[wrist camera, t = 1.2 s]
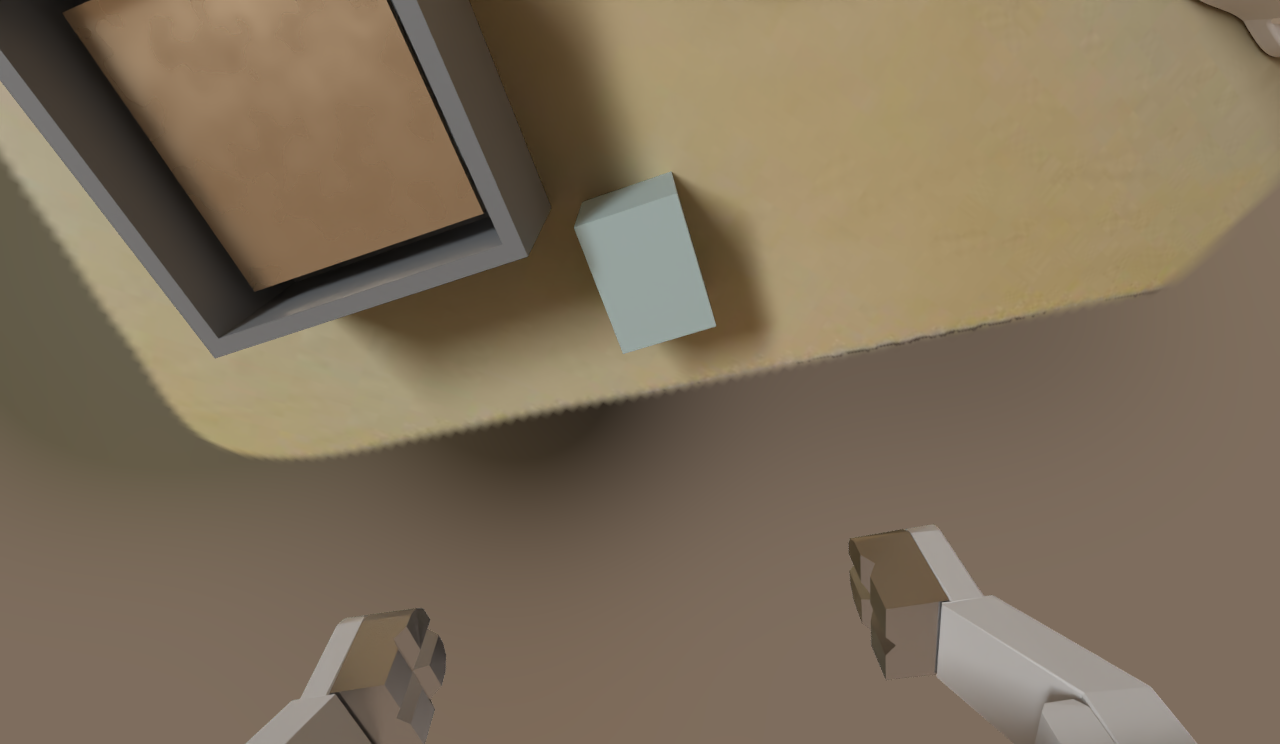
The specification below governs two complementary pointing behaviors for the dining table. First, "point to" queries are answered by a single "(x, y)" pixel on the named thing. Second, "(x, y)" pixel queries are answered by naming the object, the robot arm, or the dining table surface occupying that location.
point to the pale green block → (644, 263)
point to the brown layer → (286, 123)
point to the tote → (184, 242)
